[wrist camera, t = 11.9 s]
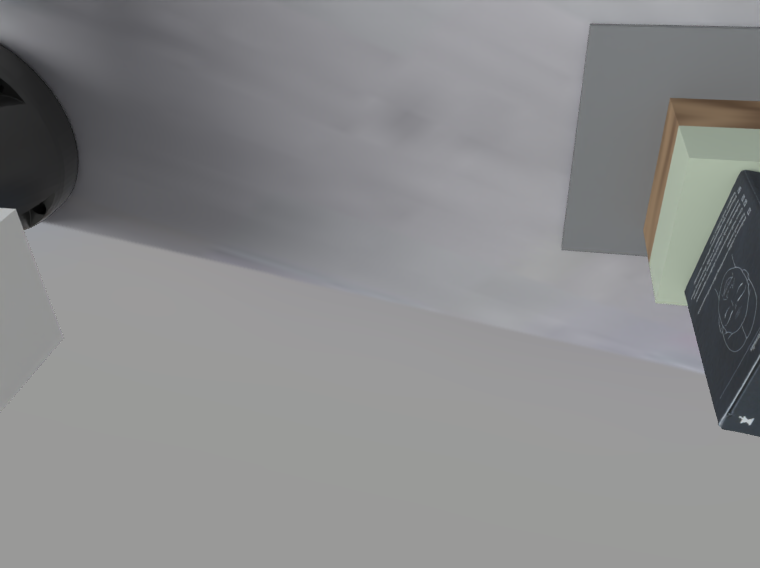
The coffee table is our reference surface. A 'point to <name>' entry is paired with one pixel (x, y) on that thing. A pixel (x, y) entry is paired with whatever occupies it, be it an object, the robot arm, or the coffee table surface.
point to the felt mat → (642, 118)
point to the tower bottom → (692, 115)
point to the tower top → (696, 201)
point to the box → (731, 308)
